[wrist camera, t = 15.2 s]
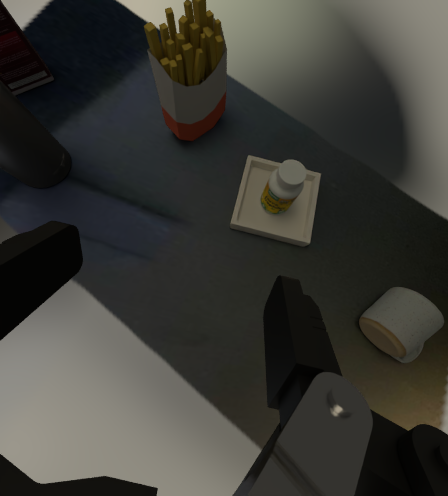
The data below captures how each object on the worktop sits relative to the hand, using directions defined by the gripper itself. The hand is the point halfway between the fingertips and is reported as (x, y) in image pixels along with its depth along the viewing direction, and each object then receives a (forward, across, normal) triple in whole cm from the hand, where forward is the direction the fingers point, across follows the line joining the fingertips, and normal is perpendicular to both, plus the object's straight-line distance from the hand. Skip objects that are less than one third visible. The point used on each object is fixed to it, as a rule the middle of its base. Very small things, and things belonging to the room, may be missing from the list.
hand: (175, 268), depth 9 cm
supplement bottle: (+33, -9, +6) cm, 35 cm away
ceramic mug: (+21, -31, +19) cm, 42 cm away
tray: (+33, -9, +7) cm, 35 cm away
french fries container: (+42, +9, -2) cm, 43 cm away
